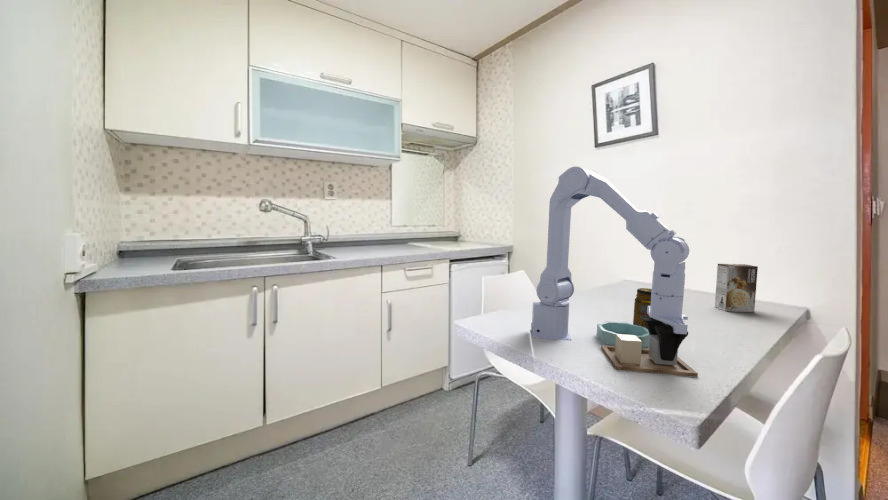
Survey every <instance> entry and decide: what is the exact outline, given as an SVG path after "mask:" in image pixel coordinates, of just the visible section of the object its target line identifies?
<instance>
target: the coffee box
mask: <svg viewBox="0 0 888 500" xmlns="http://www.w3.org/2000/svg"><path fill="white" fill-rule="evenodd" d="M716 268H717V271H716V286H715V296H714V307H715V308H717V309H719V310H722V311H724V312H736V313H737V312H739V313H755V305H756V296H757V295H756V293H757V282H758V270H759V267H758V265H753V264H752V265H751V264H746V263H745V264H743V263H717V267H716Z"/></svg>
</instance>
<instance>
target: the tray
mask: <svg viewBox="0 0 888 500" xmlns="http://www.w3.org/2000/svg"><path fill="white" fill-rule="evenodd" d="M600 349H601V350H602V352H603V353H604V355H605V357H607V359H608V361H609V362H610V364H611V366H612V367H613V368H614V370H616V371H626V372H627V371H628V372H638V373H648V374H649V373H650V374H660V375H671V376H672V375H673V376H679V377H680V376H682V377H692V378H693V377H694V378H698V377H699V373H698V372H697V371H696V370H695V369H693V368H692V367H691V366H690V365H689V364H688V363H687V362H685V361H684V360H682V359H681V358H680V357H679V356H678V355H677V366H676V365H664V364H655V363H654V362H653V361H652V360H651V359H650V357H649V356H648V354H649V348H645V349H644V348H641V363H640V364H633V363H621V362H620V361H619V360H618V359H617V357H616V356H615V346H612V345H605V344H604V345H602V344H601V345H600Z"/></svg>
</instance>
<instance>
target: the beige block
mask: <svg viewBox="0 0 888 500" xmlns="http://www.w3.org/2000/svg"><path fill="white" fill-rule="evenodd" d="M641 348H642V341H641V340H640V339H639V338H638V337H637V336H636V335H625V334H616V344H615V356H616V357H617V359H618V360H619V361H620V362H621V363H633V364H640V363H641Z"/></svg>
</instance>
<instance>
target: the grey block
mask: <svg viewBox="0 0 888 500" xmlns="http://www.w3.org/2000/svg"><path fill="white" fill-rule="evenodd" d="M648 349H649V354H648V356H649V357H650V359H651V360H652V361H653V362H654V363H655V364H664V365H676V366H677V356H678V353H679V349H678V350H677V353H676V355H675V358H674V360H673V361H665V360H662V359H661V356H660V344H659V338H658V335H650V340H649V347H648Z"/></svg>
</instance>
